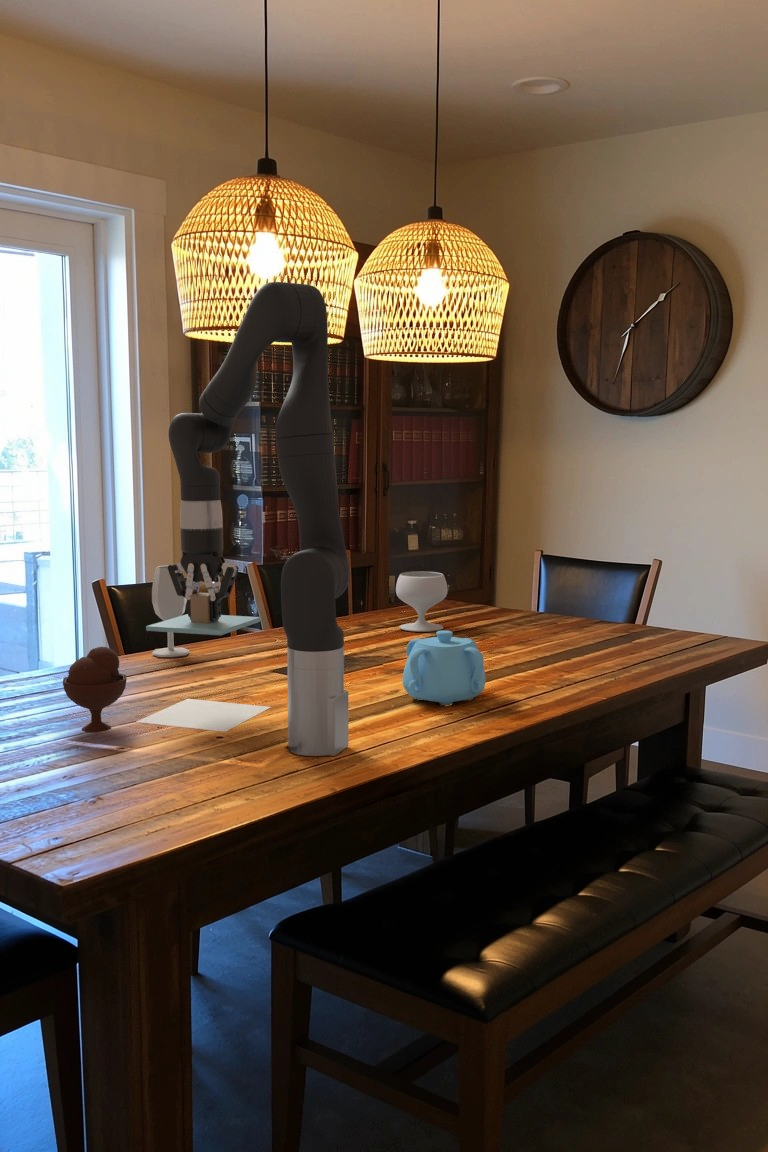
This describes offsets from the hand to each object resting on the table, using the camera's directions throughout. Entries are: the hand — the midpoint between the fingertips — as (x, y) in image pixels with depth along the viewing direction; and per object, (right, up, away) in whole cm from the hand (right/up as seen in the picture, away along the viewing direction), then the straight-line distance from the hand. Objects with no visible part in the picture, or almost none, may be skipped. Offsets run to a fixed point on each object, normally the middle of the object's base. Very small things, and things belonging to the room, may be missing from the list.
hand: (204, 619), depth 189 cm
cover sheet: (0, -1, 0) cm, 1 cm away
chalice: (+43, -7, +93) cm, 103 cm away
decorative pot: (+44, -17, +17) cm, 50 cm away
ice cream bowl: (-18, -19, -7) cm, 27 cm away
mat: (0, -18, +2) cm, 18 cm away
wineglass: (-18, -11, +58) cm, 62 cm away
